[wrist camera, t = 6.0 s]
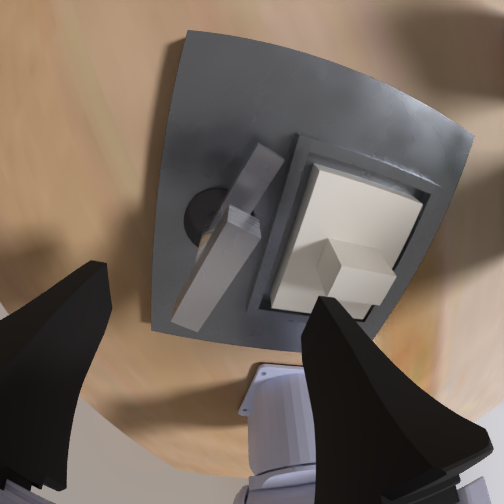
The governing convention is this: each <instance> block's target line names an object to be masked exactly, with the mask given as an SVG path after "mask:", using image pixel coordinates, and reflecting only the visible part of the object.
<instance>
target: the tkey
mask: <svg viewBox="0 0 504 504" xmlns="http://www.w3.org/2000/svg"><path fill="white" fill-rule="evenodd" d="M284 161H285V160H284V158H283V157H282V156H280V155H279V154H277V153H275V152H274V151H272V150H270V149H268V148H267V147H265V146H263V145H261V144H259V143H258V142H257V144H256V145H255V147H254V148H253V150H252V152H251V153H250V155H249V157H248V158H247V160H246V162H245V163H244V165H243V167H242V168H241V170H240V172H239V173H238V175H237V177H236V178H235V180H234V182H233V184H232V185H231V187H230V189H229V190H228V192H227V194H226V196H225V197H224V199H223V201H222V203H221V204H220V206H219V208H218V210H217V211H216V213H215V214H212V215H210V216H209V217H208V218H207V219H206V221H205V224H204V228H203V232H202V236H201V240H200V244H199V248H198V252H197V256H196V260H195V265H194V267H193V269H192V271H191V273H190V275H189V276H188V278H187V280H186V282H185V284H184V286H183V287H182V289H181V291H180V293H179V295H178V297H177V299H176V302H175V306H174V310H173V314H172V318H171V322H173V323H175V324H178V325H180V326H183V327H185V328H188V329H190V330H193V331H195V332H198V331H199V330H200V328H201V327H202V325H203V324H204V322H205V321H206V319H207V318H208V316H209V315H210V313H211V312H212V310H213V309H214V307H215V306H216V304H217V303H218V301H219V300H220V298H221V297H222V295H223V294H224V293H225V291H226V290H227V288H228V287H229V285H230V284H231V282H232V281H233V279H234V278H235V276H236V275H237V273H238V272H239V270H240V269H241V267H242V266H243V264H244V263H245V261H246V260H247V258H248V257H249V255H250V254H251V253H252V251H253V250H254V248H255V247H256V245H257V244H258V242H259V241H260V239H261V233H260V224H259V219H257V218H255V217H253V216H251V215H250V214H251V212H252V211H253V209H254V208H255V206H256V205H257V203H258V201H259V200H260V198H261V197H262V195H263V194H264V192H265V190H266V189H267V187H268V186H269V184H270V183H271V181H272V179H273V178H274V176H275V175H276V173H277V172H278V170H279V169H280V167H281V166H282V164H283V162H284Z"/></svg>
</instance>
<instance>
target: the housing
mask: <svg viewBox="0 0 504 504" xmlns="http://www.w3.org/2000/svg"><path fill="white" fill-rule="evenodd" d="M474 136H475V135H473V134H472V133H470V132H469V131H467V130H466V129H464V128H463V127H461V126H460V125H458V124H457V123H455V122H454V121H452V120H451V119H449V118H448V117H446V116H444V115H443V114H441V113H439V112H438V111H436V110H434V109H433V108H431V107H429V106H427V105H426V104H424V103H422V102H420V101H419V100H417V99H415V98H413V97H411V96H409V95H407V94H405V93H403V92H401V91H399V90H397V89H395V88H393V87H391V86H389V85H387V84H385V83H383V82H381V81H378V80H376V79H374V78H372V77H369V76H367V75H365V74H362V73H360V72H357V71H355V70H352V69H350V68H347V67H345V66H342V65H339V64H337V63H334V62H331V61H328V60H325V59H322V58H319V57H316V56H313V55H310V54H307V53H303V52H300V51H296V50H293V49H289V48H286V47H282V46H278V45H274V44H270V43H265V42H261V41H256V40H252V39H247V38H241V37H236V36H230V35H224V34H217V33H210V32H202V31H193V30H188V31H187V35H186V39H185V42H184V46H183V50H182V54H181V58H180V63H179V67H178V71H177V76H176V81H175V85H174V90H173V95H172V100H171V105H170V111H169V116H168V122H167V128H166V134H165V141H164V147H163V154H162V162H161V169H160V177H159V186H158V195H157V205H156V216H155V229H154V243H153V261H152V290H151V330H152V331H156V332H161V333H166V334H171V335H177V336H182V337H187V338H193V339H199V340H205V341H211V342H217V343H224V344H231V345H238V346H245V347H253V348H261V349H270V350H280V351H290V352H301V353H302V351H301V335H302V332H303V330H304V328H305V326H306V324H307V321H308V319H309V317H310V315H311V313H304V312H297V311H289V310H282V309H275V308H272V307H271V299H270V293H271V290H272V287H273V284H274V281H275V279H276V276H277V273H278V270H279V267H280V264H281V261H282V258H283V255H284V253H285V250H286V247H287V244H288V241H289V238H290V235H291V232H292V229H293V226H294V223H295V220H296V217H297V214H298V211H299V208H300V205H301V201H302V198H303V195H304V192H305V189H306V186H307V183H308V180H309V177H310V173H311V170H312V167H313V164H314V163H315V164H318V165H322V166H325V167H329V168H332V169H335V170H339V171H342V172H345V173H349V174H352V175H355V176H358V177H361V178H364V179H367V180H370V181H373V182H376V183H379V184H382V185H385V186H388V187H390V188H393V189H396V190H399V191H401V192H404V193H407V194H409V195H412V196H413V197H415V198H416V199H417V200H418V201H420V202H421V203H422V204H423V205H422V208H421V210H420V212H419V215H418V217H417V219H416V221H415V223H414V226H413V228H412V230H411V232H410V234H409V236H408V238H407V240H406V242H405V244H404V246H403V248H402V250H401V252H400V254H399V256H398V258H397V260H396V262H395V264H394V266H393V268H392V270H393V272H394V273H395V275H396V276H397V277H396V279H395V280H394V282H393V284H392V286H391V287H390V289H389V291H388V293H387V294H386V296H385V298H384V299H383V301H382V303H381V304H380V306H379V305H371V307H370V309H369V310H368V312H367V314H366V315H365V317H364V318H363V319H355V318H353V319H354V320H355V321H356V322H357V323H358V325H359V326H360V327H361V328H362V329H363V331H364V332H365V333H366V334H367V335H368V336H369V338H370V339H371V340H373V339H374V337H375V336H376V334H377V333H378V332H379V330H380V329H381V327H382V326H383V324H384V323H385V321H386V320H387V318H388V317H389V315H390V313H391V312H392V310H393V309H394V307H395V306H396V304H397V302H398V301H399V299H400V298H401V296H402V294H403V293H404V291H405V289H406V288H407V286H408V284H409V283H410V281H411V279H412V277H413V276H414V274H415V272H416V270H417V268H418V267H419V265H420V263H421V261H422V259H423V257H424V256H425V254H426V252H427V250H428V248H429V246H430V244H431V242H432V240H433V238H434V236H435V234H436V232H437V230H438V228H439V226H440V224H441V221H442V219H443V217H444V215H445V213H446V210H447V208H448V206H449V204H450V201H451V199H452V197H453V194H454V192H455V189H456V187H457V184H458V182H459V179H460V177H461V174H462V171H463V169H464V166H465V163H466V160H467V158H468V155H469V152H470V149H471V146H472V143H473V139H474ZM257 142H258V143H259V144H261V145H263V146H265V147H267V148H268V149H270V150H272V151H274V152H275V153H277V154H279V155H280V156H282V157H283V158H284V160H285V161H284V162H283V164H282V166H281V167H280V169H279V170H278V172H277V173H276V175H275V176H274V178H273V179H272V181H271V183H270V184H269V186H268V187H267V189H266V190H265V192H264V194H263V195H262V197H261V198H260V200H259V201H258V203H257V205H256V206H255V208H254V209H253V211H252V212H251V214H250V215H251V216H253V217H255V218H257V219H259V224H260V233H261V239H260V241H259V242H258V244H257V245H256V247H255V248H254V250H253V251H252V253H251V254H250V255H249V257H248V258H247V260H246V261H245V263H244V264H243V266H242V267H241V269H240V270H239V272H238V273H237V275H236V276H235V278H234V279H233V281H232V282H231V284H230V285H229V287H228V288H227V290H226V291H225V293H224V294H223V295H222V297H221V298H220V300H219V301H218V303H217V304H216V306H215V307H214V309H213V310H212V312H211V313H210V315H209V316H208V318H207V319H206V321H205V322H204V324H203V325H202V327H201V328H200V330H199V331H198V332H195V331H193V330H190V329H188V328H185V327H183V326H180V325H178V324H175V323H173V322H171V318H172V314H173V310H174V306H175V302H176V299H177V297H178V295H179V293H180V291H181V289H182V287H183V286H184V284H185V282H186V280H187V278H188V276H189V275H190V273H191V271H192V269H193V267H194V265H195V260H196V256H197V252H198V248H199V244H200V240H201V236H202V232H203V228H204V224H205V221H206V219H207V218H208V217H209V216H210V215H212V214H215V213H216V211H217V210H218V208H219V206H220V204H221V203H222V201H223V199H224V197H225V196H226V194H227V192H228V190H229V189H230V187H231V185H232V184H233V182H234V180H235V178H236V177H237V175H238V173H239V172H240V170H241V168H242V167H243V165H244V163H245V162H246V160H247V158H248V157H249V155H250V153H251V152H252V150H253V148H254V147H255V145H256V144H257Z"/></svg>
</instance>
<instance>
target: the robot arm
mask: <svg viewBox="0 0 504 504" xmlns="http://www.w3.org/2000/svg"><path fill="white" fill-rule="evenodd" d="M111 311H112V303H111V296H110V289H109V281H108V272H107V263H103V262H98V261H92V260H91V261H89V262H87V263H86V264H84V265H83V266H81V267H80V268H78V269H77V270H75V271H74V272H72V273H71V274H70V275H68V276H67V277H65V278H64V279H63V280H61V281H60V282H58V283H57V284H55V285H54V286H53V287H51V288H50V289H48V290H47V291H46V292H44V293H43V294H41V295H40V296H38V297H37V298H35V299H34V300H32V301H31V302H29V303H28V304H26V305H25V306H23V307H22V308H20V309H19V310H17V311H15V312H14V313H12V314H10V315H9V316H7V317H5V318H3V319H2V320H0V504H55V503H53V502H51V501H48V500H46V499H44V498H42V497H40V496H38V495H36V494H34V493H32V492H30V490H31V486H35V487H36V488H38V489H42V486H43V485H45V486H47V487H49V488H52V489H54V490H56V491H62V490H64V489H66V487H67V484H66V483H67V481H66V480H67V459H68V449H69V441H70V434H71V429H72V423H73V417H74V413H75V408H76V405H77V400H78V397H79V393H80V390H81V387H82V384H83V382H84V379H85V377H86V374H87V372H88V369H89V367H90V365H91V362H92V360H93V358H94V356H95V353H96V351H97V349H98V346H99V344H100V342H101V340H102V337H103V335H104V333H105V330H106V327H107V324H108V320H109V317H110V314H111ZM301 351H302V362H303V367H299V366H286V365H274V364H261V365H260V366H259V367H258V369H257V372H256V374H255V376H254V378H253V380H252V383H251V385H250V387H249V389H248V391H247V394H246V396H245V398H244V400H243V402H242V404H241V406H240V409H239V411H238V414H239V415H240V416H248V452H249V465H250V468H251V470H252V472H253V473H254V475H255V476H250V477H249V485H245V486H243V487H242V489H241V490H240V492H239V493H238V494H237V495H236V497H235V499H234V503H233V504H491V501H490V498H489V494H488V490H487V487H486V483H485V480H484V477H480V478H478V479H476V480H475V481H473V482H471V483H469V484H467V485H466V486H464V487H462V488H460V489H458V490H457V489H456V486H455V485H456V484H458V483H460V477H459V474H460V473H462V472H464V471H465V470H467V469H469V468H470V467H472V466H473V465H475V464H477V463H478V462H480V461H481V460H483V459H484V458H485V457H487V456H488V455H490V454H491V453H492V451H493V446H492V443H491V440H490V438H489V436H488V433H487V431H486V429H485V428H483V427H481V426H479V425H477V424H475V423H473V422H471V421H469V420H467V419H465V418H463V417H461V416H460V415H458V414H456V413H455V412H453V411H452V410H450V409H448V408H447V407H445V406H444V405H442V404H441V403H440V402H438V401H437V400H435V399H434V398H433V397H431V396H430V395H429V394H427V393H426V392H425V391H424V390H422V389H421V388H420V387H419V386H417V385H416V384H415V383H414V382H413V381H412V380H411V379H409V378H408V377H407V376H406V375H405V374H404V373H403V372H402V371H401V370H400V369H399V368H398V367H396V366H395V365H394V364H393V363H392V361H391V360H390V359H389V358H388V357H387V356H386V355H385V354H384V353H383V352H382V351H381V350H380V349H379V348H378V347H377V345H376V344H375V343H374V342H373V341H372V340H371V339H370V338H369V336H368V335H367V334H366V333H365V332H364V331H363V329H362V328H361V327H360V326H359V325H358V323H357V322H356V321H355V320H354V319H353V318H352V316H351V315H350V314H349V313H348V312H347V310H346V309H345V308H344V307H343V306H342V305H341V304H340V303H339V301H338V300H337V299H336V298H335V297H326V296H318V298H317V301H316V303H315V305H314V308H313V310H312V312H311V315H310V317H309V319H308V321H307V324H306V326H305V328H304V330H303V332H302V335H301Z"/></svg>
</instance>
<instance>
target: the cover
mask: <svg viewBox="0 0 504 504" xmlns="http://www.w3.org/2000/svg"><path fill="white" fill-rule="evenodd" d="M422 205H423V204H422V203H421V202H420V201H418V200H417V199H416V198H415V197H413V196H412V195H409V194H407V193H404V192H401V191H399V190H396V189H393V188H390V187H388V186H385V185H382V184H379V183H376V182H373V181H370V180H367V179H364V178H361V177H358V176H355V175H352V174H349V173H345V172H342V171H339V170H335V169H332V168H329V167H325V166H322V165H318V164H315V163H314V164H313V167H312V170H311V173H310V177H309V180H308V183H307V186H306V189H305V192H304V195H303V198H302V201H301V205H300V208H299V211H298V214H297V217H296V220H295V223H294V226H293V229H292V232H291V235H290V238H289V241H288V244H287V247H286V250H285V253H284V255H283V258H282V261H281V264H280V267H279V270H278V273H277V276H276V279H275V281H274V284H273V287H272V290H271V293H270V299H271V307H272V308H275V309H282V310H289V311H297V312H304V313H311V312H312V310H313V308H314V305H315V303H316V301H317V298H318V296H326V297H335V298H336V299H337V300H338V301H339V303H340V304H341V305H342V306H343V307H344V308H345V309H346V310H347V312H348V313H349V314H350V315H351V316H352V318H355V319H363V318H364V317H365V315H366V314H367V312H368V310H369V309H370V307H371V305H379V306H380V304H381V303H382V301H383V299H384V298H385V296H386V294H387V293H388V291H389V289H390V287H391V286H392V284H393V282H394V280H395V279H396V277H397V276H396V275H395V273H394V272H393V270H392V268H393V266H394V264H395V262H396V260H397V258H398V256H399V254H400V252H401V250H402V248H403V246H404V244H405V242H406V240H407V238H408V236H409V234H410V232H411V230H412V228H413V226H414V223H415V221H416V219H417V217H418V215H419V212H420V210H421V208H422Z"/></svg>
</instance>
